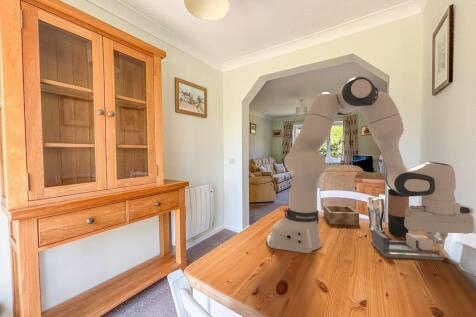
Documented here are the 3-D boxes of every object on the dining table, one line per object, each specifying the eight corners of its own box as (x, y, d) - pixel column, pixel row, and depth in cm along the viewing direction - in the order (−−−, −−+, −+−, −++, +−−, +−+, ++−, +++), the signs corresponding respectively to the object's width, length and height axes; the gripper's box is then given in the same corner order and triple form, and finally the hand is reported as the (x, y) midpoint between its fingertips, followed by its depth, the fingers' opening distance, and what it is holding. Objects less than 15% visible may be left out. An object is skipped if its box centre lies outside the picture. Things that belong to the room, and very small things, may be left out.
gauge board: (385, 257, 72) (385, 250, 72) (370, 243, 83) (370, 237, 83) (443, 260, 69) (443, 254, 69) (420, 245, 80) (420, 240, 80)
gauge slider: (421, 254, 71) (421, 242, 70) (405, 244, 79) (405, 232, 79) (438, 255, 70) (438, 243, 69) (420, 244, 78) (420, 233, 78)
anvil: (383, 251, 74) (383, 238, 74) (372, 241, 82) (372, 229, 81) (389, 251, 73) (389, 238, 73) (377, 242, 81) (377, 229, 81)
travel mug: (413, 236, 88) (413, 191, 88) (393, 235, 90) (393, 191, 89) (402, 230, 96) (402, 188, 95) (384, 229, 97) (384, 188, 97)
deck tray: (330, 223, 106) (330, 212, 106) (323, 215, 120) (323, 205, 120) (359, 224, 104) (359, 213, 103) (348, 216, 117) (348, 205, 117)
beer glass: (385, 233, 92) (385, 201, 92) (367, 230, 96) (367, 199, 95) (384, 228, 98) (384, 197, 98) (366, 226, 102) (366, 196, 101)
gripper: (411, 207, 72) (411, 245, 73) (479, 209, 69) (478, 249, 70) (400, 203, 79) (400, 238, 79) (461, 204, 75) (461, 241, 76)
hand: (437, 243), depth 74 cm, fingers closed
